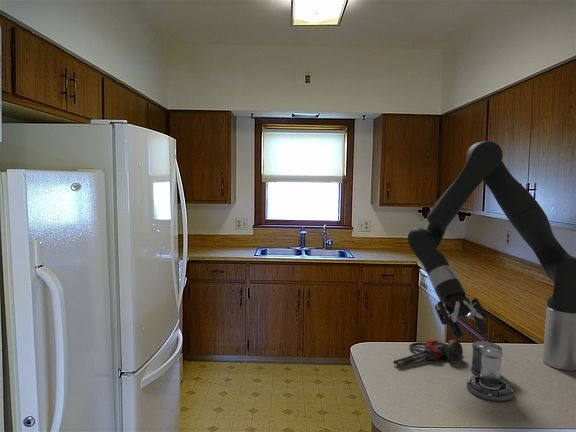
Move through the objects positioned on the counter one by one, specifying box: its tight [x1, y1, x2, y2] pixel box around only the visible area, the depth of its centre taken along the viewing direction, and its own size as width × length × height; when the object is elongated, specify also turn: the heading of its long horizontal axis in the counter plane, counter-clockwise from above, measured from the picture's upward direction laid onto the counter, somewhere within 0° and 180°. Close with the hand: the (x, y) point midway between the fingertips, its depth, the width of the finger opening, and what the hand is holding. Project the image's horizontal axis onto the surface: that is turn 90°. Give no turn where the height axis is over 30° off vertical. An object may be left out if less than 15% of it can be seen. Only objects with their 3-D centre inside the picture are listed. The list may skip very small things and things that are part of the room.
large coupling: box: [470, 340, 503, 376], centre depth 118 cm, size 8×8×8 cm
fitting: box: [479, 347, 504, 391], centre depth 107 cm, size 5×5×10 cm
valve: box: [392, 338, 464, 367], centre depth 129 cm, size 6×26×15 cm
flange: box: [466, 374, 514, 403], centre depth 108 cm, size 11×11×2 cm
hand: (473, 335), depth 113 cm, fingers open, 8 cm apart
